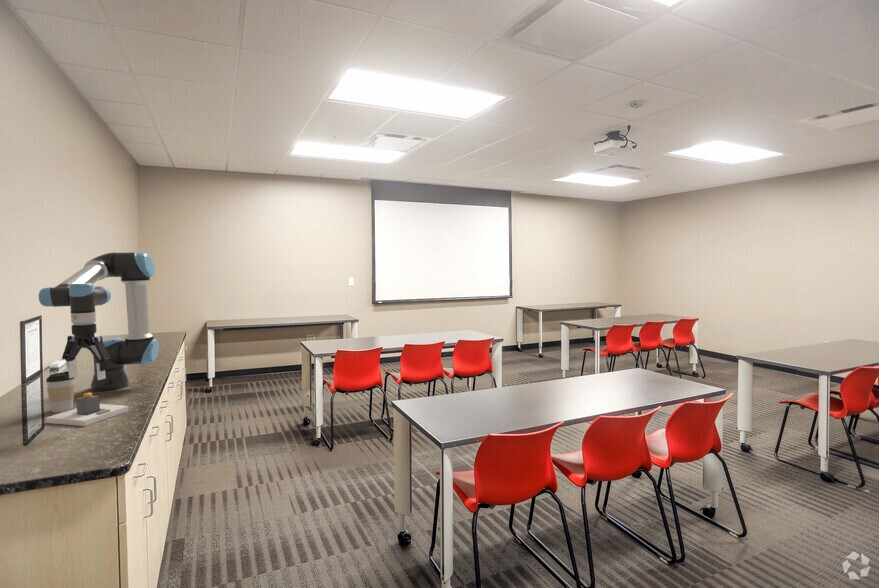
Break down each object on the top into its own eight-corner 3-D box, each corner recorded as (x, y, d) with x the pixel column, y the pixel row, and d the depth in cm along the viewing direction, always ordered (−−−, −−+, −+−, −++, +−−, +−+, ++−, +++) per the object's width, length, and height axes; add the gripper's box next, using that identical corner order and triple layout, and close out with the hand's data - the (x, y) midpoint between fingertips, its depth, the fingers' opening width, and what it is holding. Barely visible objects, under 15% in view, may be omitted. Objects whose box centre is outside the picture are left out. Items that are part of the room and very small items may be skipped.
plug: (89, 412, 181) (88, 391, 181) (100, 413, 180) (98, 392, 179) (77, 416, 176) (76, 394, 176) (87, 417, 175) (86, 395, 175)
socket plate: (92, 408, 189) (92, 401, 189) (128, 410, 185) (128, 404, 185) (46, 422, 171) (45, 415, 171) (85, 426, 167) (84, 419, 167)
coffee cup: (60, 413, 182) (58, 376, 181) (41, 412, 184) (39, 375, 183) (82, 406, 191) (80, 371, 190) (64, 405, 193) (62, 370, 192)
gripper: (47, 324, 175) (51, 378, 177) (100, 325, 169) (104, 382, 171) (67, 321, 182) (71, 374, 184) (119, 323, 177) (122, 377, 178)
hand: (87, 378), depth 178 cm, fingers open, 13 cm apart
